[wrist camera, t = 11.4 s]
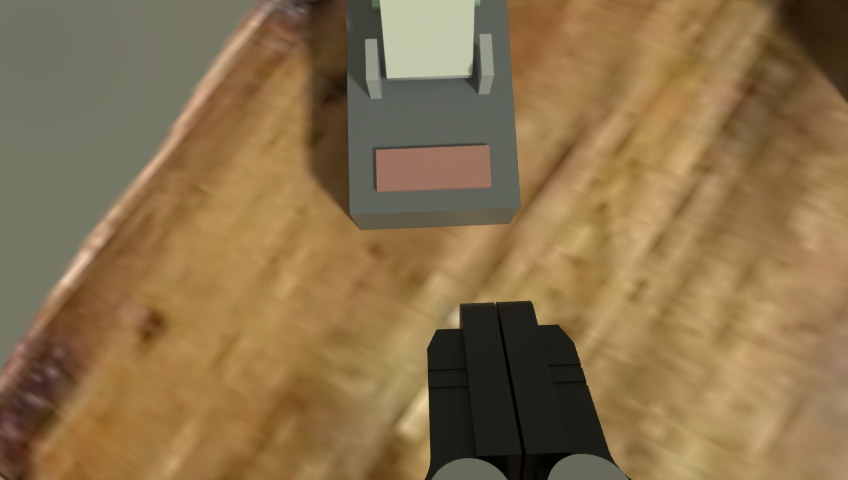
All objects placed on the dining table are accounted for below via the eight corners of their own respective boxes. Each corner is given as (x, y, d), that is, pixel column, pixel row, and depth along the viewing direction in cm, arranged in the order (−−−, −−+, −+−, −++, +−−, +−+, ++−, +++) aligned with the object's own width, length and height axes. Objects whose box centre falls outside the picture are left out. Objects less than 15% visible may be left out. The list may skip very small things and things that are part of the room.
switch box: (355, 3, 48) (338, -72, 39) (494, -3, 48) (508, -79, 39) (360, 229, 45) (342, 204, 36) (509, 223, 45) (528, 197, 36)
